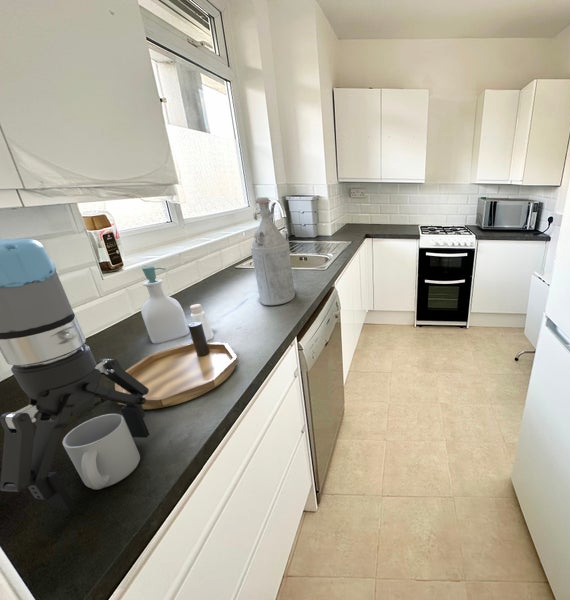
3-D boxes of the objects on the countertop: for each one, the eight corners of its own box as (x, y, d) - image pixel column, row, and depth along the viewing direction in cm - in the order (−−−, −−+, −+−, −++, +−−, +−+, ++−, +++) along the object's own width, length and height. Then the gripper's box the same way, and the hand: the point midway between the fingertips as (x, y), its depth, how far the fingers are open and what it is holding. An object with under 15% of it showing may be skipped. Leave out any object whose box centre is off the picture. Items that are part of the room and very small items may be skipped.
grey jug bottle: (253, 307, 118) (230, 198, 104) (271, 292, 134) (254, 195, 120) (286, 307, 118) (268, 197, 103) (300, 291, 134) (287, 194, 119)
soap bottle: (192, 337, 97) (171, 266, 88) (154, 348, 91) (127, 273, 82) (185, 327, 103) (165, 260, 95) (149, 337, 97) (124, 267, 89)
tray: (88, 407, 67) (69, 367, 63) (172, 349, 89) (161, 317, 85) (195, 411, 65) (182, 370, 61) (253, 351, 87) (246, 319, 84)
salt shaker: (218, 334, 99) (209, 302, 95) (207, 342, 94) (198, 309, 90) (201, 334, 99) (192, 301, 95) (190, 342, 94) (180, 309, 90)
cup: (145, 447, 57) (128, 408, 54) (131, 492, 49) (111, 449, 46) (93, 463, 54) (73, 422, 51) (70, 514, 46) (43, 470, 43)
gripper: (-52, 419, 31) (42, 553, 39) (149, 316, 54) (183, 414, 62) (-118, 416, 32) (-12, 549, 40) (109, 316, 55) (147, 413, 62)
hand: (107, 467), depth 51 cm, fingers open, 12 cm apart
